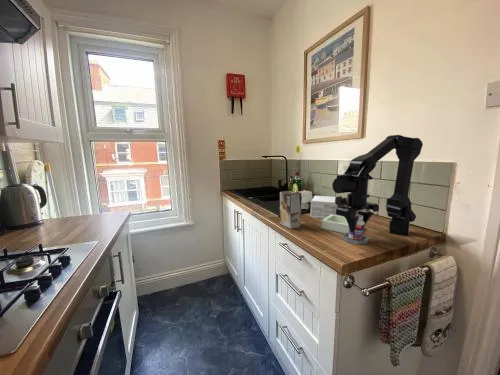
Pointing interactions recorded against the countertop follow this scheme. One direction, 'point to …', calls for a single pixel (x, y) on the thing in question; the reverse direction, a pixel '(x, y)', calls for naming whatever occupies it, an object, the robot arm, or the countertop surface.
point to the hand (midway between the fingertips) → (356, 230)
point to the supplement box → (323, 207)
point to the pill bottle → (358, 229)
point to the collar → (355, 241)
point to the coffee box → (290, 209)
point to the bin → (335, 224)
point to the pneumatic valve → (306, 198)
